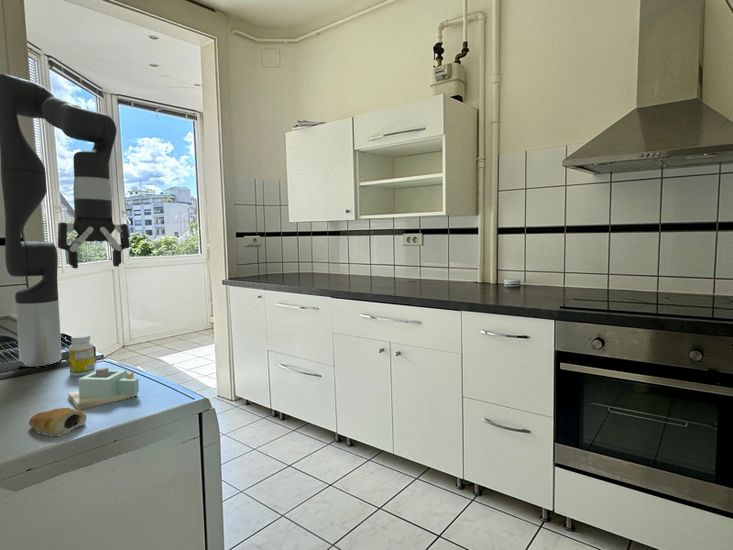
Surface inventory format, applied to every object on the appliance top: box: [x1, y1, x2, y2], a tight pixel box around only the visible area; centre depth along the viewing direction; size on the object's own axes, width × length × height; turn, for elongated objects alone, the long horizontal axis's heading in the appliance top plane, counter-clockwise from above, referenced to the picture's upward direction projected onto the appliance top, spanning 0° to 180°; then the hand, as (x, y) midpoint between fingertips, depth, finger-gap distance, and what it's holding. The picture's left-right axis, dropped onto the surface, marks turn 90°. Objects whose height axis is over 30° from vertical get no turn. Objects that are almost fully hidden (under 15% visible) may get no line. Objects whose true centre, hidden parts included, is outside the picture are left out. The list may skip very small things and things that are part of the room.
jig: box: [67, 367, 139, 411], centre depth 94 cm, size 9×11×6 cm
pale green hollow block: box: [78, 369, 140, 398], centre depth 93 cm, size 10×6×4 cm, turn 88°
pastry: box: [28, 407, 87, 437], centre depth 79 cm, size 9×7×4 cm
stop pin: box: [126, 372, 135, 378], centre depth 95 cm, size 1×1×4 cm
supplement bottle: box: [68, 334, 96, 377], centre depth 110 cm, size 5×5×10 cm
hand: (96, 267), depth 103 cm, fingers open, 8 cm apart
